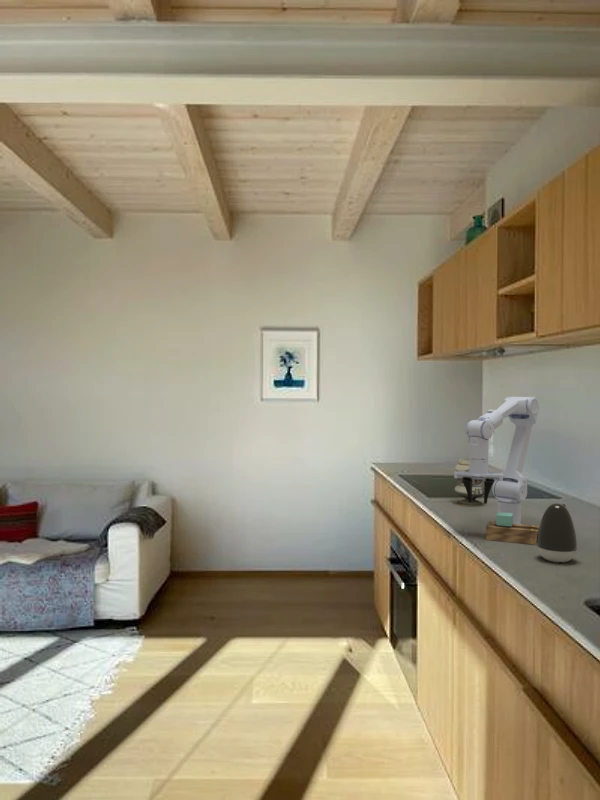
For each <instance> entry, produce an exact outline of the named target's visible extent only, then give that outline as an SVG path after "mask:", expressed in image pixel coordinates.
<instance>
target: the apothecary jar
mask: <svg viewBox="0 0 600 800" xmlns="http://www.w3.org/2000/svg"><path fill="white" fill-rule="evenodd" d="M458 461H459V462H458V464H456V465H455V468H454V470H455V471H460V472H469V458H459V460H458ZM455 471H454V472H455ZM472 477H474V476H472ZM480 478H483V477H480ZM462 480H463V478H457V485H456V486H455V487H454V492H455V494H457V496H460V497H462V498H464V499H461V500H459V501H457V503H458V504H457V505H459V504H460V506H463V505H465V507H481V506H483V505H484V502H481V501H479V500H477V498H479V497H480V498H481V497H482V496H484V494H485V489H484V484H483V483H484V482H483V480H482V479H473V481H472V502H471V503H470V502H469V498H468V494H467V491H466V488H465V486H464V484H463V481H462Z"/></svg>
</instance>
